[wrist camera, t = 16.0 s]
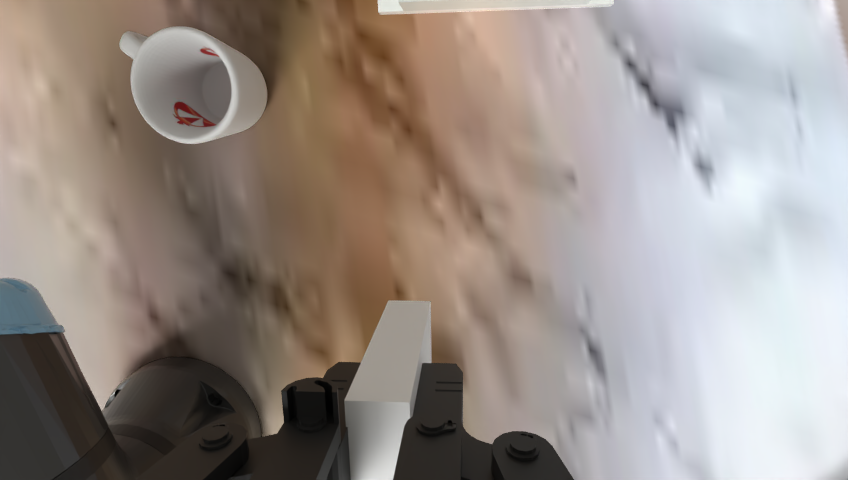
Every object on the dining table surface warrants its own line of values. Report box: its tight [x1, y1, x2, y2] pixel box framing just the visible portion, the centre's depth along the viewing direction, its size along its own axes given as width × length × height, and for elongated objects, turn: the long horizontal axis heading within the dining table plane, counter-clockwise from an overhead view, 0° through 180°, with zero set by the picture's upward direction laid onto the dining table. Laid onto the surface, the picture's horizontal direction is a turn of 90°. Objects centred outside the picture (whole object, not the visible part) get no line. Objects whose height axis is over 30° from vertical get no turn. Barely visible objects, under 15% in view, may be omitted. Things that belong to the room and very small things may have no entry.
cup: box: [119, 26, 267, 144], centre depth 39 cm, size 11×8×8 cm
